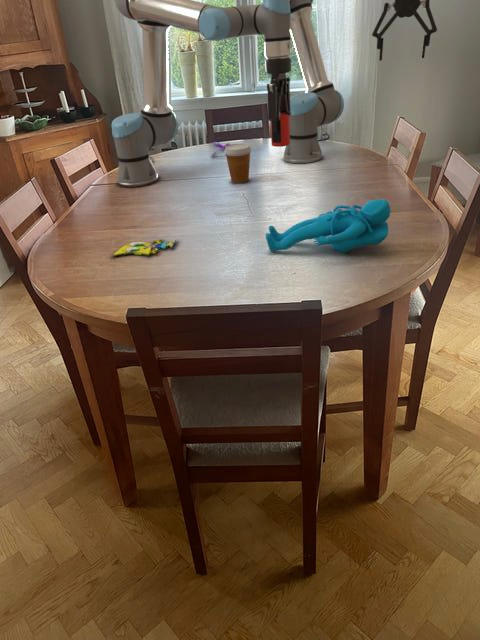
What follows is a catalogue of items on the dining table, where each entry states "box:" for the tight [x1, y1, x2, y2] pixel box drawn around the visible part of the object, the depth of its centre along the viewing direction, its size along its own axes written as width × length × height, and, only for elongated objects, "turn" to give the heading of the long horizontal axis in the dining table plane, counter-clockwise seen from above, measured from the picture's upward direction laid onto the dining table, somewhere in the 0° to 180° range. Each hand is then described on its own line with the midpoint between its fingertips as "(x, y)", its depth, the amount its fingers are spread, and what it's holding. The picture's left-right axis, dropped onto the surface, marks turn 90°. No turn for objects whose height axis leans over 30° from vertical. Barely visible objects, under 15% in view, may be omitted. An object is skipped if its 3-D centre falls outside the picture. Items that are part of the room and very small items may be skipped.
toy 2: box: [265, 198, 392, 254], centre depth 118 cm, size 17×11×30 cm
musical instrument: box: [211, 141, 233, 158], centre depth 212 cm, size 24×2×20 cm
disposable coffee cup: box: [223, 142, 252, 184], centre depth 171 cm, size 10×10×12 cm
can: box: [270, 114, 290, 148], centre depth 151 cm, size 6×6×9 cm
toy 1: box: [112, 238, 177, 258], centre depth 129 cm, size 10×1×15 cm
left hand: (280, 139), depth 153 cm, fingers closed on can, 6 cm apart
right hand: (401, 59), depth 162 cm, fingers open, 13 cm apart
